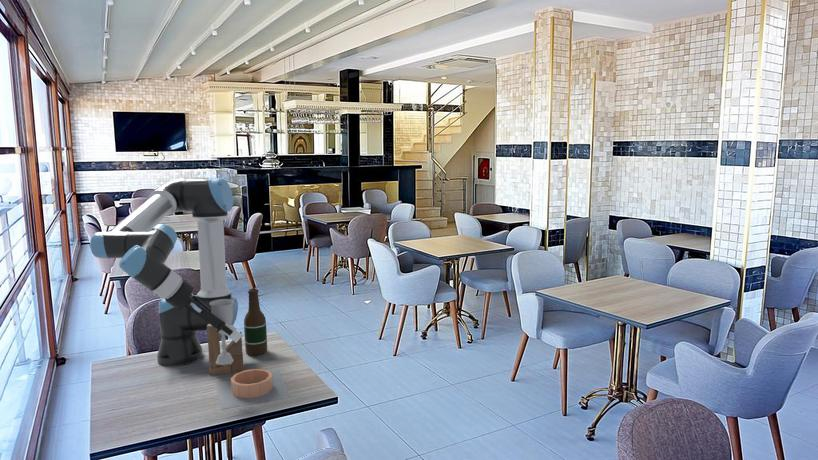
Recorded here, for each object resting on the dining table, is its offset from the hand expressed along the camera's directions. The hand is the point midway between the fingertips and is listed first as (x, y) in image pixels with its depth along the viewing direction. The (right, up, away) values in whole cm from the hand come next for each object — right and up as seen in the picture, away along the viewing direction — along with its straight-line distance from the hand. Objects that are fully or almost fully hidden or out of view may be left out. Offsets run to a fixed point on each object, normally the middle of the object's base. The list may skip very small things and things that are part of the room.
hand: (236, 335), depth 166 cm
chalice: (-3, -8, -1) cm, 8 cm away
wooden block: (-9, -17, +20) cm, 28 cm away
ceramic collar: (+3, -18, +6) cm, 19 cm away
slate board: (+3, -19, +6) cm, 20 cm away
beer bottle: (-5, -14, +40) cm, 43 cm away
